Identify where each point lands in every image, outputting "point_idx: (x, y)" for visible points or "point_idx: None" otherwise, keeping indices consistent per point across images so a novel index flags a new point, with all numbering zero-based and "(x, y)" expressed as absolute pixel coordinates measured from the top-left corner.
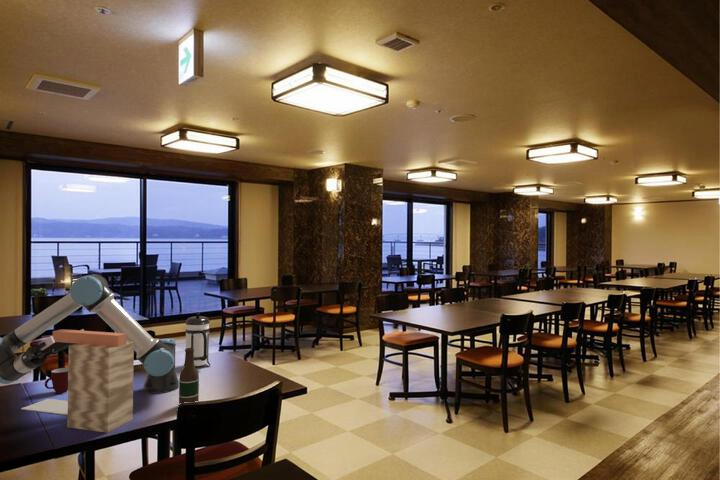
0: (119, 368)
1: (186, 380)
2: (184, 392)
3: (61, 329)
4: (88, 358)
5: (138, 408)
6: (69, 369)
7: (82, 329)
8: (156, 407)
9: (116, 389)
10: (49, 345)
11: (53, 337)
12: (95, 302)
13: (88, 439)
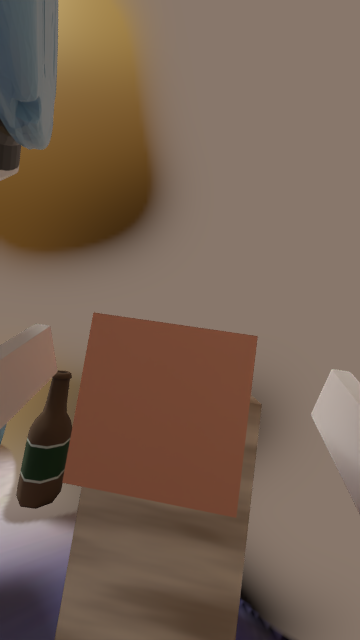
0: None
1: (69, 434)
2: (63, 462)
3: (115, 316)
4: None
5: (5, 608)
6: (245, 527)
7: (45, 326)
8: (22, 554)
9: None
10: (345, 467)
11: (241, 436)
12: (17, 144)
13: (247, 623)
